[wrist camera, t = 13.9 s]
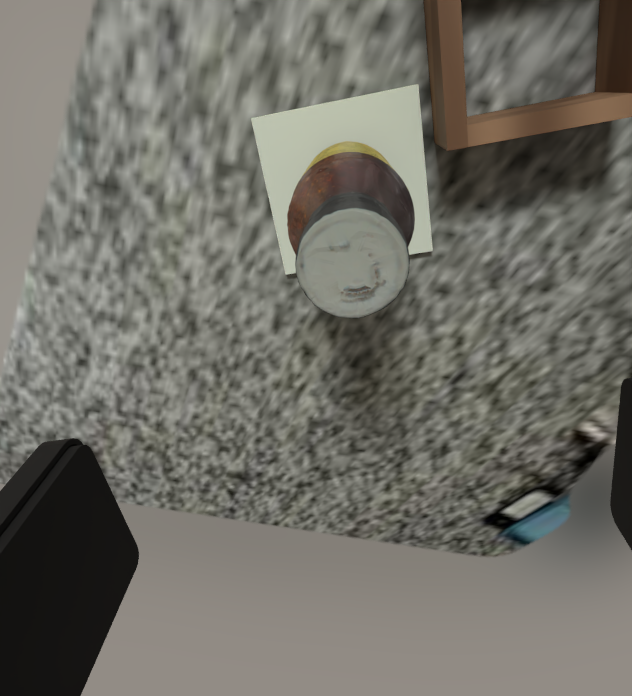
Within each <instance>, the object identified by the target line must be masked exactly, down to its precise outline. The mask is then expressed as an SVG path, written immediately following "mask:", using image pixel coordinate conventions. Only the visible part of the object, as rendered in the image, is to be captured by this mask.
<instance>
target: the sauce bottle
mask: <svg viewBox="0 0 632 696" xmlns="http://www.w3.org/2000/svg"><path fill="white" fill-rule="evenodd" d="M287 220H288V221H287V226H288V236H289V240H290V243H291V246H292V248H293V250H294V252H295V255H296V260H295V267H296V274H297V278H298V282H299V284H300V286H301V288H302V289H303V291H304V293H305V295H306V296H307V297H308V298H309V299H310V300H311V301H312V302H313V304H314V305H315V306H317V307H318V308H320V309H321V310H323V311H324V312H326V313H329V314H332V315H334V316H337V317H345V318H361V317H365V316H367V315H370V314H373V313H375V312H377V311H379V310H381V309H383V308H385V307H386V306H388V305H389V304H390V303H391V302H392V301H393V300H394V299H395V298H396V297H397V296H398V294H399V293H400V291H401V290H402V289H403V287H404V286H405V283H406V281H407V278H408V274H409V264H410V263H409V262H410V258H409V250H408V246H409V244H410V241H411V239H412V235H413V232H414V225H415V213H414V206H413V201H412V198H411V195H410V193H409V190H408V188H407V186H406V185H405V183H404V181H403V180H402V178H401V177H400V176H399V175H398V174H397V172H396V171H395V170H394V169H393V168H392V167H391V165H390V164H389V163H388V161H387V160H386V159H385V158H384V157H383V156H382V155H381V154H380V153H379V152H378V151H377V150H375V149H373V148H372V147H370V146H368V145H365V144H362V143H359V142H351V141H345V142H341V143H337V144H334V145H332V146H330V147H328V148H326V149H324V150H323V151H322V152H320V153H319V154H318V155H317V156H316V157H315V158H314V159H313V161H312V162H311V163H310V165H309V166H308V168H307V169H306V171H305V172H304V174H303V175H302V177H301V179H300V180H299V182H298V184H297V185H296V188H295V190H294V192H293V196H292V199H291V202H290V204H289V210H288V213H287Z"/></svg>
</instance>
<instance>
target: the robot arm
mask: <svg viewBox="0 0 632 696" xmlns="http://www.w3.org/2000/svg"><path fill="white" fill-rule="evenodd" d="M611 511H612V515H613V518H614V521H615V523H616V525H617V527H618V529H619V530H620V532H621V533H622V535H623V537H624V538H625V540H626V542H627V543H628V545H629V546H630V548H631V550H632V378H627V379H625V380H624V381H623V382H622V386H621V394H620V405H619V416H618V426H617V437H616V448H615V458H614V469H613V480H612V491H611ZM138 559H139V552H138V547H137V544H136V542H135V540H134V538H133V536H132V534H131V532H130V530H129V527H128V525H127V523H126V522H125V519H124V517H123V515H122V513H121V510H120V508H119V506H118V504H117V502H116V500H115V498H114V496H113V494H112V491H111V489H110V487H109V485H108V483H107V481H106V479H105V477H104V475H103V472H102V470H101V468H100V466H99V464H98V462H97V460H96V458H95V456H94V453H93V451H92V450H91V448H90V447H89V446H87V445H83V444H82V442H81V441H79V440H78V439H74V438H72V439H64V440H56V441H48V442H44V443H42V444H41V445H40V446H38V448H37V449H36V450H35V451H34V452H33V453H32V455H31V456H30V457H29V458H28V459H27V460H26V462H25V463H24V464H23V465H22V466H21V468H20V469H19V470H18V471H17V472H16V473H15V475H14V476H13V477H12V478H11V479H10V480H9V482H8V483H7V484H6V485H5V486H4V487H3V489H2V490H1V491H0V696H80V695H81V693H82V691H83V689H84V686H85V684H86V682H87V680H88V677H89V675H90V673H91V670H92V668H93V666H94V664H95V661H96V659H97V657H98V654H99V652H100V650H101V647H102V645H103V643H104V640H105V638H106V636H107V634H108V632H109V629H110V627H111V625H112V622H113V620H114V618H115V616H116V613H117V611H118V609H119V606H120V604H121V602H122V600H123V597H124V595H125V593H126V590H127V588H128V586H129V584H130V581H131V579H132V577H133V575H134V572H135V570H136V568H137V565H138Z"/></svg>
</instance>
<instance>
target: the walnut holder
mask: <svg viewBox="0 0 632 696" xmlns="http://www.w3.org/2000/svg"><path fill="white" fill-rule="evenodd" d="M424 12H425V25H426V38H427V51H428V64H429V77H430V90H431V103H432V116H433V129H434V142H435V143H436V144H438V145H439V146H441V147H442V148H444V149H445V150H447V151H450V150H455V149H461V148H466V147H472V146H477V145H482V144H488V143H493V142H498V141H504V140H509V139H515V138H520V137H525V136H531V135H536V134H541V133H547V132H552V131H558V130H563V129H568V128H574V127H579V126H584V125H590V124H595V123H601V122H606V121H611V120H617V119H622V118H627V117H632V0H600V5H599V25H598V45H597V64H596V84H595V92H593V93H588V94H582V95H577V96H572V97H567V98H562V99H557V100H551V101H546V102H541V103H536V104H531V105H526V106H520V107H515V108H510V109H505V110H500V111H495V112H489V113H484V114H479V115H474V116H469V117H467V112H466V92H465V72H464V52H463V32H462V12H461V0H424Z"/></svg>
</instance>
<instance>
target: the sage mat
mask: <svg viewBox="0 0 632 696" xmlns="http://www.w3.org/2000/svg"><path fill="white" fill-rule="evenodd" d="M251 120H252V125H253V129H254V134H255V138H256V143H257V147H258V152H259V156H260V161H261V165H262V170H263V174H264V179H265V183H266V188H267V192H268V197H269V201H270V206H271V210H272V215H273V219H274V224H275V229H276V233H277V238H278V242H279V247H280V251H281V256H282V260H283V265H284V269H285V274H286V275H287V274H293V273H296V267H295V260H296V255H295V252H294V250H293V248H292V246H291V243H290V240H289V236H288V226H287V221H288V220H287V213H288V210H289V204H290V202H291V199H292V196H293V192H294V190H295V188H296V185H297V184H298V182H299V180H300V179H301V177H302V175H303V174H304V172H305V171H306V169H307V168H308V166H309V165H310V163H311V162H312V161H313V159H314V158H315V157H316V156H317V155H318V154H319V153H320V152H322V151H323V150H324V149H326V148H328V147H330V146H332V145H334V144H337V143H341V142H345V141H351V142H359V143H362V144H365V145H368V146H370V147H372V148H373V149H375V150H377V151H378V152H379V153H380V154H381V155H382V156H383V157H384V158H385V159H386V160H387V161H388V163H389V164H390V165H391V167H392V168H393V169H394V170H395V171H396V172H397V174H398V175H399V176H400V177H401V178H402V180H403V181H404V183H405V185H406V186H407V188H408V190H409V193H410V195H411V198H412V201H413V206H414V213H415V225H414V232H413V235H412V239H411V241H410V244H409V246H408V250H409V255H411V254H417V253H423V252H429V251H433V249H432V238H431V226H430V214H429V203H428V191H427V180H426V168H425V157H424V145H423V133H422V122H421V110H420V99H419V87H418V84H416V85H411V86H406V87H401V88H396V89H392V90H387V91H382V92H377V93H372V94H367V95H362V96H357V97H352V98H348V99H343V100H338V101H333V102H328V103H323V104H318V105H313V106H308V107H303V108H299V109H294V110H289V111H284V112H279V113H274V114H269V115H264V116H259V117H255V118H251Z"/></svg>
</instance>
